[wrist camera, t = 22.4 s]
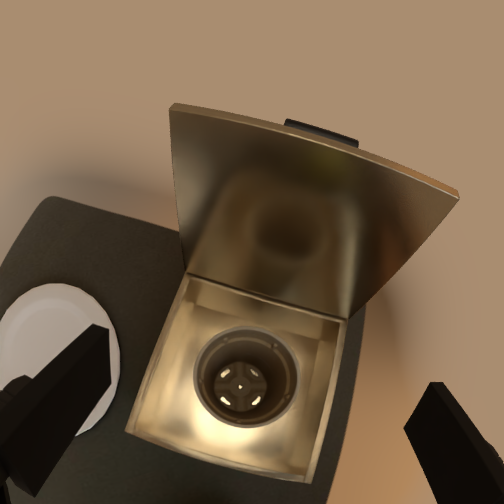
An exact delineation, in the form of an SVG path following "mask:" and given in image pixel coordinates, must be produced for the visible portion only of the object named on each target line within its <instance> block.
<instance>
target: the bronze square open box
mask: <svg viewBox="0 0 504 504" xmlns="http://www.w3.org/2000/svg"><path fill="white" fill-rule="evenodd" d="M347 320H348V319H347V318H343V317H339V316H336V315H332V314H328V313H324V312H321V311H317V310H314V309H310V308H306V307H303V306H299V305H296V304H292V303H289V302H285V301H282V300H278V299H275V298H271V297H268V296H264V295H261V294H258V293H254V292H251V291H247V290H244V289H241V288H238V287H234V286H231V285H228V284H224V283H221V282H218V281H215V280H211V279H208V278H205V277H202V276H199V275H196V274H192V273H189V272H185V275H184V277H183V279H182V282H181V284H180V287H179V289H178V291H177V294H176V296H175V298H174V301H173V303H172V306H171V308H170V311H169V313H168V316H167V318H166V321H165V323H164V325H163V328H162V331H161V333H160V336H159V338H158V341H157V343H156V346H155V348H154V351H153V354H152V356H151V359H150V361H149V364H148V367H147V369H146V372H145V375H144V377H143V380H142V383H141V386H140V388H139V391H138V394H137V397H136V399H135V402H134V405H133V408H132V411H131V414H130V417H129V419H128V422H127V425H126V428H125V432H128V433H130V434H133V435H134V436H137V437H139V438H141V439H144V440H146V441H149V442H151V443H153V444H156V445H159V446H161V447H164V448H166V449H169V450H172V451H175V452H178V453H180V454H183V455H186V456H189V457H192V458H195V459H199V460H202V461H205V462H208V463H212V464H215V465H219V466H223V467H226V468H230V469H234V470H238V471H242V472H247V473H251V474H256V475H261V476H266V477H271V478H276V479H282V480H288V481H295V482H303V483H309V484H311V482H312V479H313V476H314V472H315V469H316V465H317V462H318V458H319V455H320V451H321V447H322V444H323V440H324V436H325V432H326V428H327V424H328V420H329V415H330V411H331V407H332V402H333V398H334V393H335V388H336V383H337V378H338V373H339V368H340V363H341V357H342V352H343V346H344V340H345V333H346V327H347ZM241 326H250V327H252V326H253V327H259V328H263V329H265V330H268V331H270V332H272V333H274V334H275V335H277V336H278V337H280V338H282V339H283V340H284V341H285V342H286V343H287V344H288V345H289V347H290V348H291V349H292V351H293V352H294V354H295V356H296V358H297V360H298V363H299V367H300V374H301V382H300V388H299V392H298V395H297V397H296V399H295V401H294V403H293V405H292V406H291V407H290V409H289V410H288V411H287V412H286V413H285V414H284V415H283V416H282V417H281V418H279V419H278V420H276V421H275V422H273V423H271V424H269V425H266V426H262V427H258V428H248V429H246V428H238V427H233V426H230V425H227V424H225V423H223V422H221V421H219V420H217V419H216V418H214V417H213V416H212V415H211V414H210V413H209V412H208V411H207V410H206V409H205V408H204V407H203V405H202V404H201V402H200V401H199V399H198V397H197V395H196V392H195V388H194V383H193V369H194V364H195V361H196V359H197V356H198V354H199V352H200V351H201V349H202V347H203V346H204V345H205V344H206V343H207V342H208V341H209V340H210V339H211V338H212V337H214V336H215V335H217V334H218V333H220V332H222V331H224V330H227V329H230V328H234V327H241ZM251 371H252V372H253V374H255V375H256V376H258V374H257V373H256V372H255V371H254V370H252V369H251ZM229 372H230V370H229V369H226V370H225V371H224V372H222V373H221V376H222V377H224V376H225V375H226V374H228V373H229ZM239 388H242V385H239ZM260 399H261V397H260V396H259V397H258V398H257V399H256V400H255V401H254V402H253V403H252V405H256V404H257V403H258V402H259V401H260ZM221 400H222V401H223V402H224V403H226V404H228V405H230V403H229V402H228V401H227V400H226V399H225V398H224V397H221Z"/></svg>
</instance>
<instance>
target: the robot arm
mask: <svg viewBox="0 0 504 504" xmlns="http://www.w3.org/2000/svg"><path fill="white" fill-rule="evenodd" d="M111 384H112V381H111V365H110V341H109V329H108V328H105V327H102V326H99V325H96V324H93V323H92V324H91V325H90V326H89V327H88V328H87V329H86V330H85V331H83V332H82V333H81V334H80V335H79V336H78V337H77V338H76V339H75V340H73V341H72V342H71V343H70V344H69V345H68V346H67V347H66V348H65V349H64V350H63V351H61V352H60V353H59V354H58V355H57V356H56V357H55V358H54V359H53V360H52V361H51V362H50V363H49V364H47V365H46V366H45V367H44V368H43V369H42V370H41V371H40V372H39V373H38V374H37V375H36V376H35V377H34V378H33V379H32V378H30V377H29V376H27V375H22V376H20V377H17V378H15V379H13V380H11V381H10V382H9V383H8V384H7V385H6V386H5V387H4V388H3V390H0V504H11V501H10V497H9V492H8V487H7V484H6V482H5V481H6V480H7V478H8V477H9V476H10V478H11V479H12V481H13V482H14V484H15V485H16V486H17V487H19V488H20V489H22V490H23V491H25V492H26V493H28V494H30V495H31V496H33V497H34V498H35V497H36V495H37V494H38V492H39V490H40V489H41V487H42V486H43V484H44V483H45V481H46V479H47V478H48V476H49V475H50V473H51V472H52V470H53V469H54V467H55V466H56V464H57V462H58V461H59V459H60V458H61V456H62V455H63V453H64V452H65V450H66V449H67V447H68V446H69V444H70V443H71V441H72V440H73V438H74V437H75V436H76V434H77V433H78V431H79V430H80V428H81V427H82V425H83V424H84V422H85V421H86V419H87V418H88V417H89V415H90V414H91V412H92V411H93V409H94V408H95V406H96V405H97V404H98V402H99V401H100V399H101V398H102V396H103V395H104V394H105V392H106V391H107V389H108V388H109V387H110V385H111ZM404 430H405V432H406V435H407V437H408V439H409V441H410V443H411V445H412V447H413V450H414V451H415V454H416V456H417V458H418V460H419V463H420V465H421V467H422V469H423V471H424V474H425V476H426V478H427V480H428V482H429V485H430V487H431V489H432V492H433V494H434V496H435V499H436V501H437V504H504V464H503V461H502V459H501V458H500V457H499V455H498V453H497V452H496V450H495V449H494V447H493V446H492V445H490V444H489V443H488V442H487V441H486V440H485V439H484V438H483V437H482V435H481V434H480V432H479V431H478V429H477V428H476V427H475V425H474V424H473V422H472V421H471V420H470V418H469V417H468V415H467V414H466V413H465V411H464V410H463V409H462V407H461V406H460V405H459V403H458V402H457V400H456V399H455V398H454V396H453V395H452V394H451V392H450V391H449V390H448V389H447V387H446V386H445V385H444V383H443V382H430V383H429V385H428V387H427V389H426V391H425V392H424V394H423V396H422V398H421V399H420V401H419V403H418V405H417V406H416V408H415V410H414V411H413V413H412V415H411V416H410V418H409V420H408V421H407V423H406V425H405V426H404Z"/></svg>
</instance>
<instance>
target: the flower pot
mask: <svg viewBox="0 0 504 504" xmlns="http://www.w3.org/2000/svg"><path fill="white" fill-rule="evenodd" d="M226 369H229V370H230V372H229V373H228V374H226V375H225V376H224V377H222V376H221V373H222V372H224V371H225V370H226ZM251 369H252V370H254V371H255V372H256V373H257V374H258V376H256V375H255V374H253V372H252V371H251ZM300 382H301V374H300V367H299V363H298V360H297V358H296V356H295V354H294V352H293V351H292V349H291V348H290V347H289V345H288V344H287V343H286V342H285V341H284V340H283V339H282V338H280V337H278V336H277V335H275V334H274V333H272V332H270V331H268V330H265V329H263V328H259V327H253V326H252V327H250V326H241V327H234V328H230V329H227V330H224V331H222V332H220V333H218V334H217V335H215V336H214V337H212V338H211V339H210V340H209V341H208V342H207V343H206V344H205V345H204V346H203V347H202V349H201V351H200V352H199V354H198V356H197V359H196V361H195V364H194V369H193V383H194V388H195V392H196V395H197V397H198V399H199V401H200V402H201V404H202V405H203V407H204V408H205V409H206V410H207V411H208V412H209V413H210V414H211V415H212V416H213V417H214V418H216V419H217V420H219V421H221V422H223V423H225V424H227V425H230V426H233V427H238V428H246V429H248V428H258V427H262V426H266V425H269V424H271V423H273V422H275V421H276V420H278V419H279V418H281V417H282V416H283V415H284V414H285V413H286V412H287V411H288V410H289V409H290V407H291V406H292V405H293V403H294V401H295V399H296V397H297V395H298V392H299V388H300ZM239 385H242V388H239ZM259 396H260V397H261V399H260V401H259V402H258V403H257V404H256V405H252V403H253V402H254V401H255V400H256V399H257V398H258V397H259ZM221 397H224V398H225V399H226V400H227V401H228V402H229V403H230V405H228V404H226V403H224V402H223V401H222V400H221Z"/></svg>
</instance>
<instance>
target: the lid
mask: <svg viewBox="0 0 504 504" xmlns="http://www.w3.org/2000/svg"><path fill="white" fill-rule="evenodd" d="M169 120H170V137H171V151H172V163H173V175H174V186H175V196H176V205H177V215H178V223H179V232H180V240H181V248H182V255H183V262H184V269H185V271H186V272H189V273H192V274H196V275H199V276H202V277H205V278H208V279H211V280H215V281H218V282H221V283H224V284H228V285H231V286H234V287H238V288H241V289H244V290H247V291H251V292H254V293H258V294H261V295H264V296H268V297H271V298H275V299H278V300H282V301H285V302H289V303H292V304H296V305H299V306H303V307H306V308H310V309H314V310H317V311H321V312H324V313H328V314H332V315H336V316H339V317H343V318H347V319H350V318H351V317H352V316H353V315H354V314H355V313H356V312H357V311H358V310H359V309H361V308H362V307H363V306H364V305H365V304H366V303H367V302H368V301H369V300H370V299H371V298H372V297H373V296H374V295H375V294H376V293H377V292H378V291H379V290H380V289H381V288H382V287H383V286H384V285H385V284H386V283H387V282H388V281H389V280H390V278H392V277H393V275H394V274H395V273H396V272H397V271H398V270H399V269H400V268H401V267H402V266H403V265H404V264H405V263H406V262H407V261H408V259H409V258H410V257H411V256H412V255H413V254H414V253H415V252H416V251H417V250H418V248H419V247H420V246H421V245H422V244H423V243H424V242H425V240H426V239H427V238H428V237H429V236H430V235H431V233H432V232H433V231H434V230H435V229H436V227H437V226H438V225H439V224H440V223H441V222H442V220H443V219H444V218H445V217H446V216H447V214H448V213H449V212H450V211H451V209H452V208H453V207H454V206H455V204H456V203H457V202H458V201H459V198H460V197H459V194H458V191H457V190H456V189H454V188H452V187H449V186H447V185H445V184H443V183H441V182H439V181H437V180H434V179H432V178H430V177H428V176H426V175H424V174H421V173H419V172H417V171H415V170H412V169H410V168H407V167H405V166H402V165H400V164H398V163H395V162H393V161H390V160H388V159H385V158H383V157H380V156H377V155H375V154H372V153H369V152H367V151H364V150H361V149H358V145H359V142H358V140H355V139H353V138H350V137H347V136H344V135H341V134H338V133H335V132H331V131H329V130H326V129H322V128H319V127H316V126H312V125H309V124H305V123H302V122H299V121H295V120H291V119H286V120H285V123H284V125H281V124H277V123H273V122H269V121H265V120H261V119H257V118H252V117H248V116H243V115H239V114H234V113H230V112H225V111H220V110H214V109H209V108H204V107H197V106H192V105H186V104H180V103H174V104H173V105H172V106H171V107H170V108H169Z"/></svg>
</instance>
